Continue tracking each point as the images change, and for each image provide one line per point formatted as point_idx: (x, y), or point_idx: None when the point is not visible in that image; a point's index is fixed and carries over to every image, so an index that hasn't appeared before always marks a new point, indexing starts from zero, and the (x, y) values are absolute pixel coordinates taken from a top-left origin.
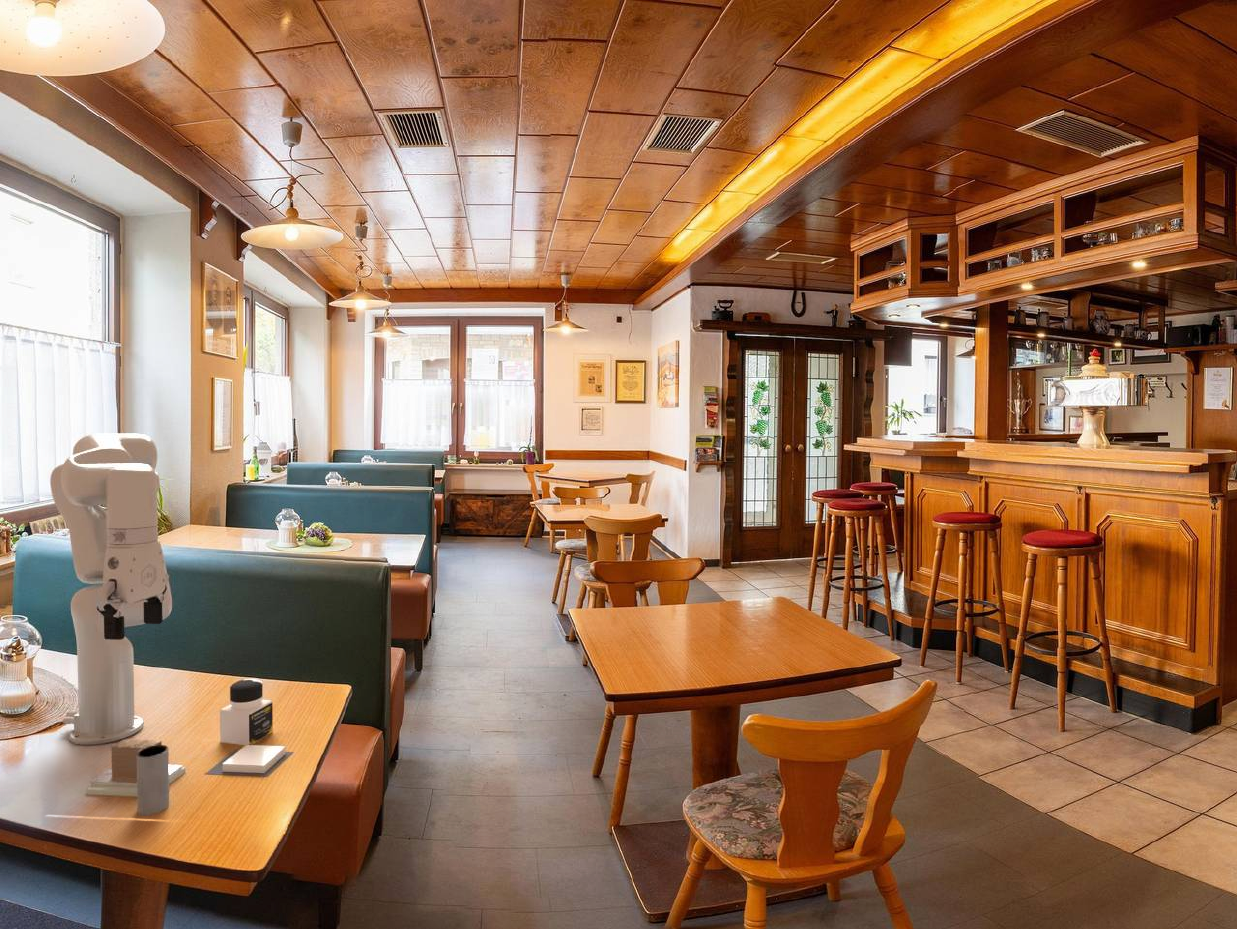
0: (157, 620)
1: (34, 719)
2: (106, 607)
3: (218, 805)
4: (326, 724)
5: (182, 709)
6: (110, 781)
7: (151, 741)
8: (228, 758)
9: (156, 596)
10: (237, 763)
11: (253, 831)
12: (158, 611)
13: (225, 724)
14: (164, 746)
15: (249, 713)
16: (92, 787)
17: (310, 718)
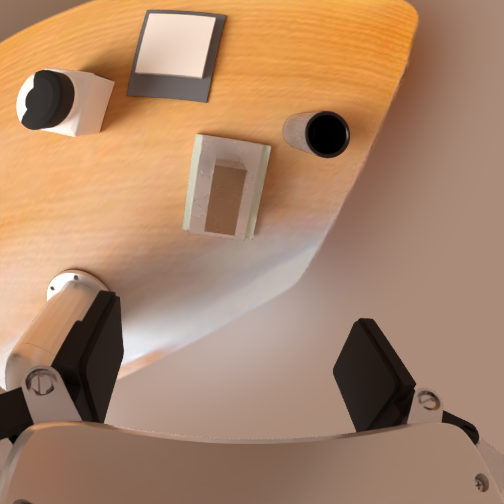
0: (116, 310)
1: None
2: (476, 433)
3: (298, 54)
4: (56, 17)
5: (13, 250)
6: (247, 214)
7: (217, 180)
8: (156, 90)
9: (81, 420)
10: (202, 56)
11: (360, 9)
12: (101, 337)
13: (89, 123)
14: (311, 121)
15: (93, 74)
16: (249, 233)
17: (33, 50)
